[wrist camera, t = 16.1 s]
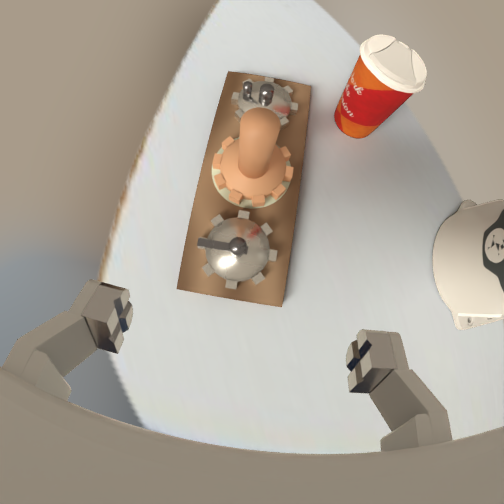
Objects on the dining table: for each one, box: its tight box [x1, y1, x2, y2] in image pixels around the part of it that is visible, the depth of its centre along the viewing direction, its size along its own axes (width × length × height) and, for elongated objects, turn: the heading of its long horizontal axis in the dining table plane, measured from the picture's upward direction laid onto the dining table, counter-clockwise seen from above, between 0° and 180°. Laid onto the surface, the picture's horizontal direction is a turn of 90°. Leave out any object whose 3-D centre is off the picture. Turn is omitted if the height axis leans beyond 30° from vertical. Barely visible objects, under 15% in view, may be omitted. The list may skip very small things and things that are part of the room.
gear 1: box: [231, 77, 298, 130], centre depth 31 cm, size 8×8×4 cm
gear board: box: [177, 71, 311, 307], centre depth 33 cm, size 11×28×2 cm, turn 170°
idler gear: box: [212, 107, 294, 207], centre depth 27 cm, size 8×8×10 cm
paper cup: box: [334, 35, 427, 138], centre depth 29 cm, size 8×8×14 cm
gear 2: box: [197, 210, 277, 289], centre depth 29 cm, size 8×8×4 cm
